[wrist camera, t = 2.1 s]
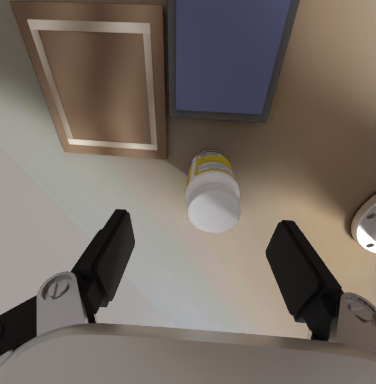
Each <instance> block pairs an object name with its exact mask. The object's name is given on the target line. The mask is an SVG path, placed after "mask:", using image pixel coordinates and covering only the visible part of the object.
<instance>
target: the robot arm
mask: <svg viewBox="0 0 376 384" xmlns="http://www.w3.org/2000/svg"><path fill="white" fill-rule="evenodd" d="M351 234H352V236H353V238H354V239H355V240H356V242H357V243H358V244H359V245H360V246H361V247H363V248H364V249H366V250H368V251H370V252H374V253H376V194H375V195H374V196H372V197H371V198H370V199H369V200H368V201H367V202H366V203H365V204H363V206H362V207H361V208H360V209H359V210H358V212H357V213H356V215H355V217H354V219H353V221H352V224H351ZM134 245H135V239H134V234H133V229H132V224H131V219H130V214H129V212H127V211H126V210H122V209H116V210H115V211H114V213H113V214H112V216H111V217H110V219H109V220H108V222H107V223H106V225H105V226H104V228H103V229H101V230H99V231H98V233H97V234H96V235H95V237H94V238H93V240H92V241H91V243H90V244H89V246H88V247H87V249H86V250H85V251H84V253H83V254H82V256H81V257H80V259H79V260H78V262H77V263H76V264H75V266H74V267H73V269H72V270H71V272H68V271H66V272H61V273H58V274H56V275H54V276H52V277H50V278H49V279H48V280H47V281H45V282H44V283H43V285H42V286H41V287H40V289H39V291H38V294H37V295H36V296H34V297H33V298H31V299H29V300H27V301H25V302H24V303H22V304H20V305H18V306H16V307H14V308H12V309H11V310H9V311H7V312H5V313H3V314H2V315H0V384H376V307H375V306H374V305H373V304H371V303H370V302H369V301H368V300H366V299H365V298H363V297H361V296H359V295H357V294H355V293H351V292H345V293H344V292H343V291H342V289H341V288H342V287H341V286H340V285H339V283H338V282H337V280H336V279H335V278H334V276H333V275H332V273H331V272H330V271H329V269H328V268H327V266H326V265H325V264H324V262H323V261H322V259H321V258H320V257H319V255H318V254H317V252H316V251H315V250H314V248H313V247H312V246H311V244H310V243H309V241H308V240H307V239H306V237H305V236H304V234H303V233H302V232H301V230H300V229H299V227H298V226H297V225H296V223H295V222H294V221H289V220H282V221H281V222H279V223H278V225H277V227H276V229H275V232H274V234H273V236H272V238H271V240H270V243H269V245H268V247H267V249H266V257H267V259H268V262H269V264H270V266H271V269H272V271H273V274H274V276H275V279H276V281H277V284H278V286H279V289H280V291H281V294H282V296H283V299H284V301H285V303H286V306H287V308H288V311H289V313H290V314H291V315H293V317H294V319H295V322H301V323H306V324H307V326H308V328H309V331H308V335H307V339H300V338H290V337H278V336H266V335H254V334H243V333H230V332H218V331H205V330H192V329H180V328H165V327H152V326H139V325H123V324H122V325H121V324H104V323H98V322H97V318H96V313H97V311H98V309H99V307H107V305H108V303H109V301H112V300H113V298H114V296H115V293H116V291H117V288H118V286H119V283H120V281H121V278H122V275H123V273H124V271H125V268H126V266H127V263H128V261H129V258H130V256H131V253H132V251H133V248H134Z"/></svg>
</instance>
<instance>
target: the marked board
mask: <svg viewBox="0 0 376 384" xmlns="http://www.w3.org/2000/svg"><path fill="white" fill-rule="evenodd" d="M10 4H11V7H12V9H13V12H14V15H15V18H16V20H17V23H18V26H19V29H20V31H21V34H22V37H23V40H24V42H25V45H26V48H27V50H28V53H29V56H30V59H31V61H32V64H33V67H34V70H35V72H36V75H37V78H38V81H39V83H40V86H41V89H42V91H43V94H44V97H45V100H46V102H47V105H48V108H49V111H50V113H51V116H52V119H53V122H54V124H55V127H56V130H57V132H58V135H59V138H60V141H61V143H62V146H63V149H64V152H71V153H85V154H99V155H113V156H127V157H140V158H154V159H167V158H168V151H167V110H166V68H165V27H164V7H163V5H138V4H99V3H60V2H22V1H10Z"/></svg>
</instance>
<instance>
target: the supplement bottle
mask: <svg viewBox="0 0 376 384" xmlns="http://www.w3.org/2000/svg"><path fill="white" fill-rule="evenodd" d="M239 198H240V190H239V186H238V183H237V181H236V178H235V175H234V172H233V170H232V167H231V165H230V162H229V160H228V158H227V157H226V156H225V155H224V154H223V153H221V152H219V151H216V150H205V151H202V152H200V153H199V154H197V155H196V156H195V157H194V158H193V160H192V162H191V164H190V168H189V174H188V180H187V185H186V190H185V199H186V203H187V205H188V209H187V214H188V218H189V220H190V222H191V223H192V224H193V225H194V226H195V227H196V228H198V229H199V230H201V231H204V232H209V233H219V232H223V231H226V230H228V229H230V228H231V227H233V226H234V225H235V224H236V223H237V221H238V220H239V217H240V213H241V210H240V205H239Z"/></svg>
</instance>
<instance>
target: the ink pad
mask: <svg viewBox="0 0 376 384" xmlns="http://www.w3.org/2000/svg"><path fill="white" fill-rule="evenodd" d="M167 1H168V63H169V117H177V118H194V119H211V120H228V121H244V122H261V123H266V121H267V117H268V113H269V110H270V106H271V102H272V99H273V95H274V92H275V88H276V84H277V81H278V77H279V73H280V70H281V66H282V63H283V59H284V55H285V52H286V48H287V44H288V41H289V37H290V34H291V30H292V26H293V23H294V19H295V15H296V12H297V8H298V5H299V1H300V0H167Z"/></svg>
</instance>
